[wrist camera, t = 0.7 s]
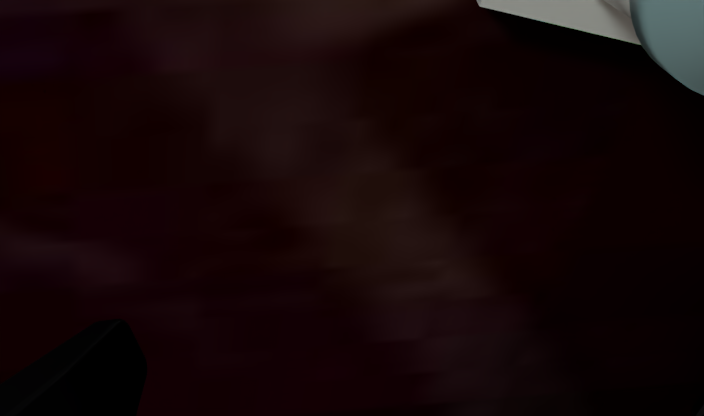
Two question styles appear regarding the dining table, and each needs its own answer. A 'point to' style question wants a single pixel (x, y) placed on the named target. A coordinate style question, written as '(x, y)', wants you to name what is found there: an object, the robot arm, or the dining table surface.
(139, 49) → the dining table surface
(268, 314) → the dining table surface
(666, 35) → the hand stamp
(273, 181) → the dining table surface
